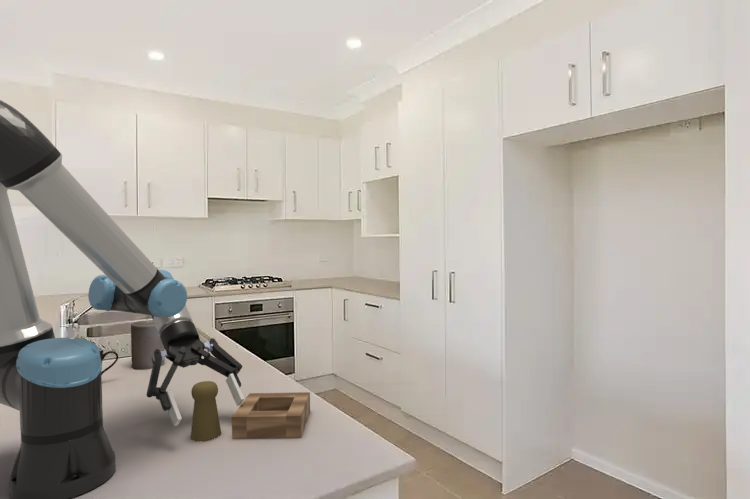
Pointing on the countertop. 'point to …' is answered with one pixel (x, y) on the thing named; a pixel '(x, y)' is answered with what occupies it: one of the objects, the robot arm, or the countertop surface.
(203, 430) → the cork
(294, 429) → the socket block
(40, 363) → the robot arm
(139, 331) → the pillar candle
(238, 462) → the countertop surface
